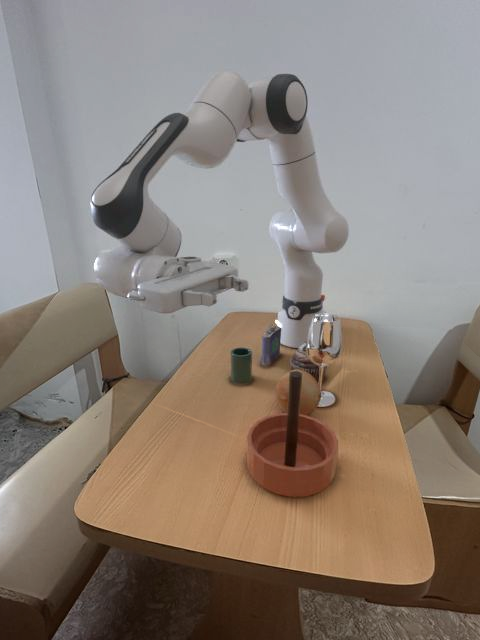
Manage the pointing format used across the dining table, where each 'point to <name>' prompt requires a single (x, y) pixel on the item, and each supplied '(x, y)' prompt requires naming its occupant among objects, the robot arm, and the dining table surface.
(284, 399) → the onion
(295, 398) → the stick
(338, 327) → the wineglass
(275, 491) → the bowl
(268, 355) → the blue box
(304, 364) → the cupcake
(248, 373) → the holder
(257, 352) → the dining table surface
